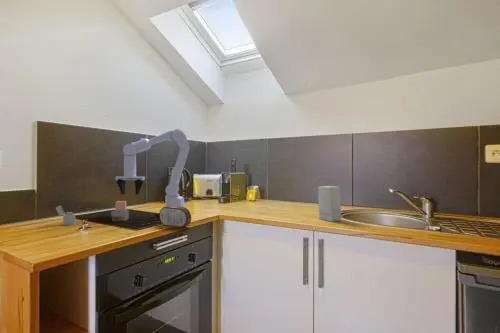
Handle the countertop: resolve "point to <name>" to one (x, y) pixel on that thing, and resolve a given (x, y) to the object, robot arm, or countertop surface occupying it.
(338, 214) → the skincare box
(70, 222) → the lighter
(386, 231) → the countertop surface
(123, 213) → the charcoal slab
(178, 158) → the robot arm
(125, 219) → the walnut slab
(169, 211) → the tin
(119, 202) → the terracotta cube
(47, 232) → the countertop surface
